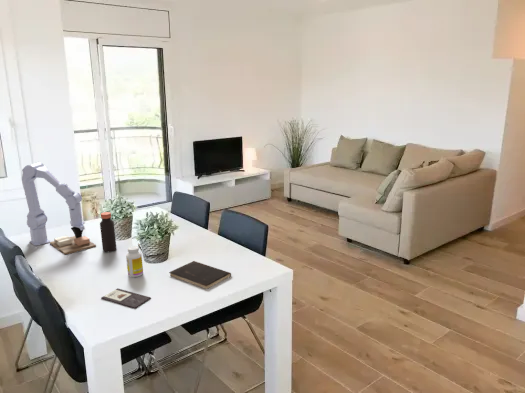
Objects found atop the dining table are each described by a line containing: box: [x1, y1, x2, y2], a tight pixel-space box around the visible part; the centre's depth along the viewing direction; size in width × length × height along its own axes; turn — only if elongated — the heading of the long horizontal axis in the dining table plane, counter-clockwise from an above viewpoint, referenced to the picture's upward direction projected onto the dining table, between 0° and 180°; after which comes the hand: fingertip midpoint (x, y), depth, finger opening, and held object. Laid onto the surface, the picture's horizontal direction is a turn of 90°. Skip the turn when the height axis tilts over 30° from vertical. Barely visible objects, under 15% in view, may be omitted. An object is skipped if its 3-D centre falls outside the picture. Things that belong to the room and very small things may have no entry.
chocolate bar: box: [100, 288, 152, 310], centre depth 173 cm, size 9×1×18 cm
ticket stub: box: [74, 235, 91, 246], centre depth 230 cm, size 6×6×2 cm
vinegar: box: [99, 211, 117, 253], centre depth 222 cm, size 7×7×20 cm
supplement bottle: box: [125, 245, 144, 278], centre depth 193 cm, size 7×7×13 cm
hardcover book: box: [168, 260, 232, 290], centre depth 193 cm, size 16×23×2 cm
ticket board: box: [49, 235, 97, 255], centre depth 231 cm, size 22×16×4 cm
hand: (79, 239), depth 233 cm, fingers closed
